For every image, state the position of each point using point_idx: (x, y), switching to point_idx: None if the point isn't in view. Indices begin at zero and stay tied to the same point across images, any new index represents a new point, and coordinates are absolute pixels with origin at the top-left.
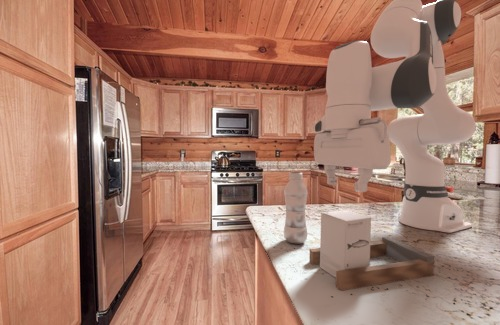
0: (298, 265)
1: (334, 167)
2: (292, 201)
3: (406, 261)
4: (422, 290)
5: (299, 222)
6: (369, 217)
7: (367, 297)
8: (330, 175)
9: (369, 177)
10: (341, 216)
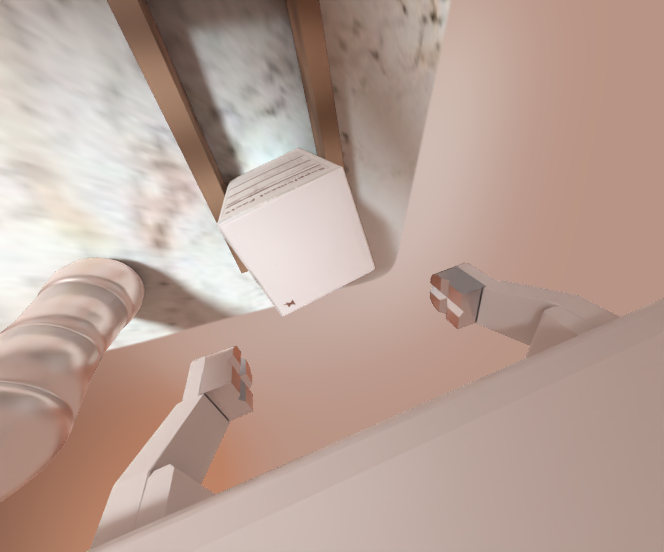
0: None
1: (179, 490)
2: (82, 398)
3: (301, 17)
4: (358, 47)
5: (113, 314)
6: (344, 175)
7: (365, 190)
8: (215, 427)
9: (544, 296)
10: (335, 271)
